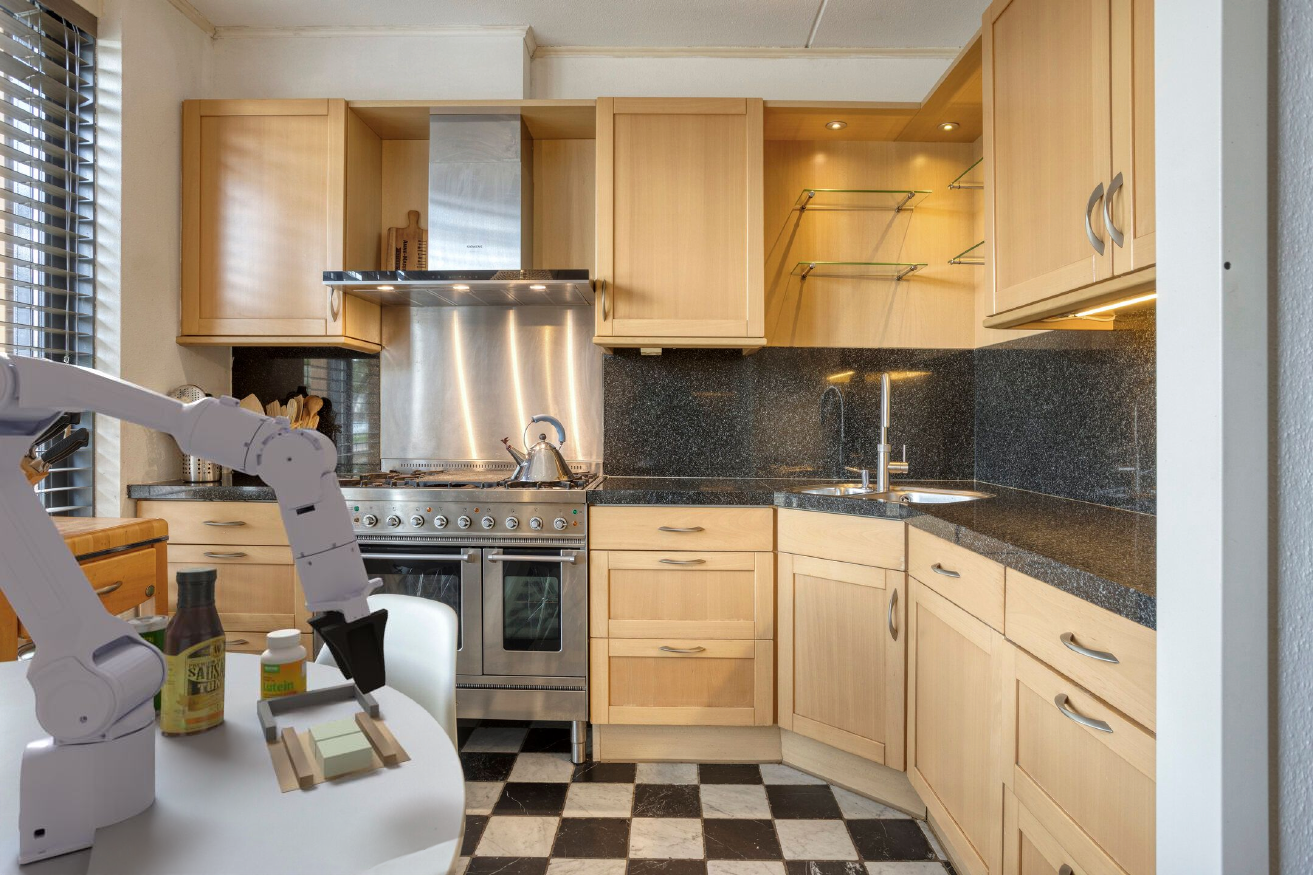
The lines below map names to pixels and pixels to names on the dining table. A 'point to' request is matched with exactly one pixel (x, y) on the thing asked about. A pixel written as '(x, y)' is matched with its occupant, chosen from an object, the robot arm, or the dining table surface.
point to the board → (301, 767)
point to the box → (311, 698)
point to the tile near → (343, 754)
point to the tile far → (331, 731)
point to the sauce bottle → (194, 658)
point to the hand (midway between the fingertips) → (365, 682)
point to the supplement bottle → (283, 665)
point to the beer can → (152, 640)
